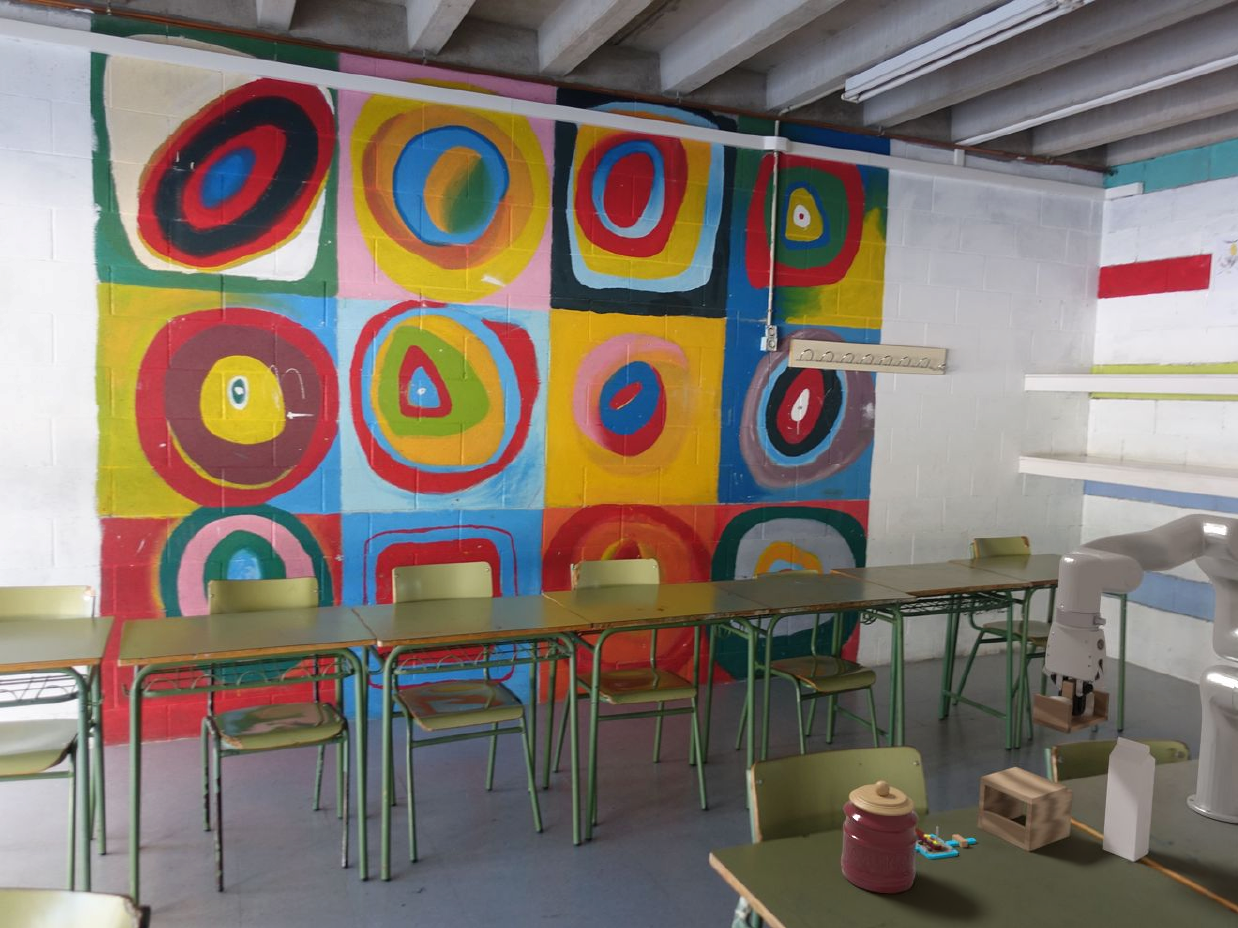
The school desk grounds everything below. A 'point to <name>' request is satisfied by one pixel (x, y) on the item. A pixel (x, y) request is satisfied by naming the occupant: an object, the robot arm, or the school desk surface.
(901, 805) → the canister
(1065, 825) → the shelf
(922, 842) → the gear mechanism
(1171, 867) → the school desk surface
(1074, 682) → the caddy
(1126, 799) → the milk
